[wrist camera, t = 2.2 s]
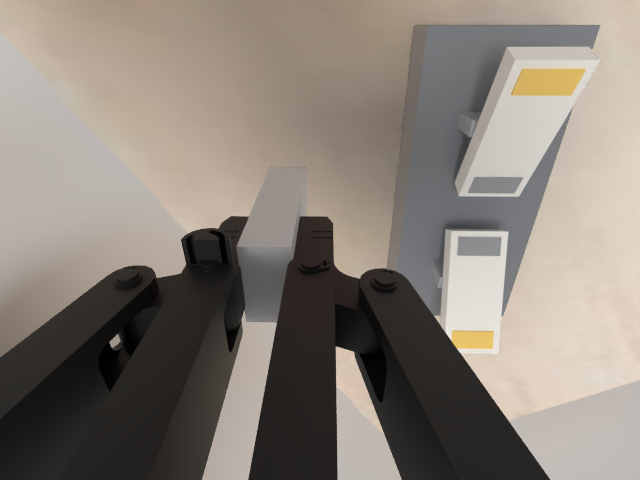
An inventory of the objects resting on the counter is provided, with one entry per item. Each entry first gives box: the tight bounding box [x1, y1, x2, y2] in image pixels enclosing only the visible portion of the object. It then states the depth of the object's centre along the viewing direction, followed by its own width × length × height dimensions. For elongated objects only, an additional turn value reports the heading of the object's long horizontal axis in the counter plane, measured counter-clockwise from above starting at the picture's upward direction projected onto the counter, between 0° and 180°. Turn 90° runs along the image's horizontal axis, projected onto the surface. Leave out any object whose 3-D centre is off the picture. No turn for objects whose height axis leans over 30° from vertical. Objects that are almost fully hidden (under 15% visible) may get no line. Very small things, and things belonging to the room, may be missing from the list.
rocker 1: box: [440, 229, 508, 354], centre depth 33 cm, size 11×5×2 cm, turn 1°
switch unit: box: [387, 25, 600, 316], centre depth 33 cm, size 27×12×8 cm, turn 0°
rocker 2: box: [455, 47, 601, 197], centre depth 25 cm, size 11×5×2 cm, turn 179°
